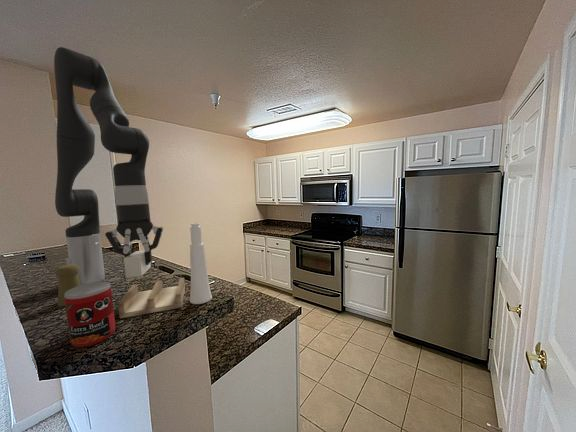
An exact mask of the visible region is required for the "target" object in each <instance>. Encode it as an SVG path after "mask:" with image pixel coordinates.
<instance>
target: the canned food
mask: <svg viewBox="0 0 576 432" xmlns="http://www.w3.org/2000/svg"><path fill="white" fill-rule="evenodd" d="M112 293H113V292H112V286H111V282H109V281H101V282H93V283H88V284H84V285H80V286H77V287H74V288H72V289H70V290H68V291H67V292H65V294H64V295H65V296H64V298H65V306H64V307H65V313H66V318H67V319H66V320H67V326H68V332H69V333H68V334H69V340H70V343H71V345H72V346H73V347H75V348H85V347H90V346H93V345H96V344H99V343H101V342H103V341H105V340H107V339H108V338H110V337H111V336H112V335H113V334H114V333H115V330H116V320H115V310H114V302H113V294H112Z"/></svg>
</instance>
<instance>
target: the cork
mask: <svg viewBox="0 0 576 432" xmlns="http://www.w3.org/2000/svg"><path fill="white" fill-rule="evenodd" d="M78 273H79V267H78V265H76V264H68V265H67V264H64V265H61V266H59V267H57V268H56V270H55V273H54V274H55V276H56V277H57V278H58V289H57V292H58V293H57V306H58V307H65V298H64V296H65V295H64V294H65V292H67V291H68V290H70V289H72V288H74V287H77V286H80V285H81V284H80V281H79V278H78V275H77V274H78Z"/></svg>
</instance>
